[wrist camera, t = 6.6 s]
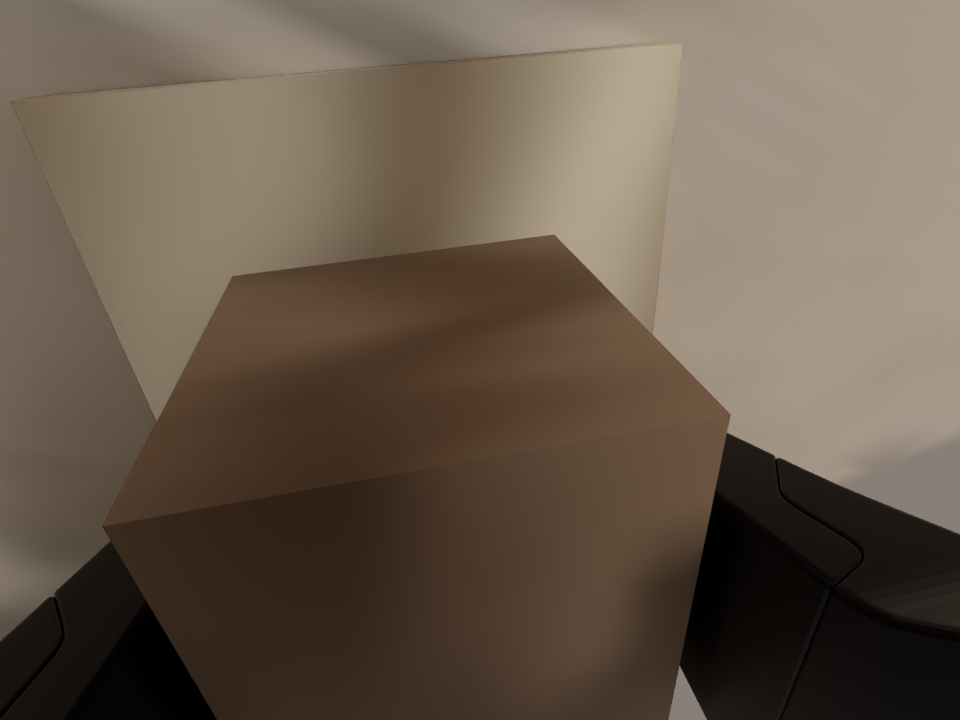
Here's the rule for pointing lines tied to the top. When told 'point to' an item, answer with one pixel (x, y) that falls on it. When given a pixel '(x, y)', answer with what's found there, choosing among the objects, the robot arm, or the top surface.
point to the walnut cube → (426, 494)
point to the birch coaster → (355, 177)
